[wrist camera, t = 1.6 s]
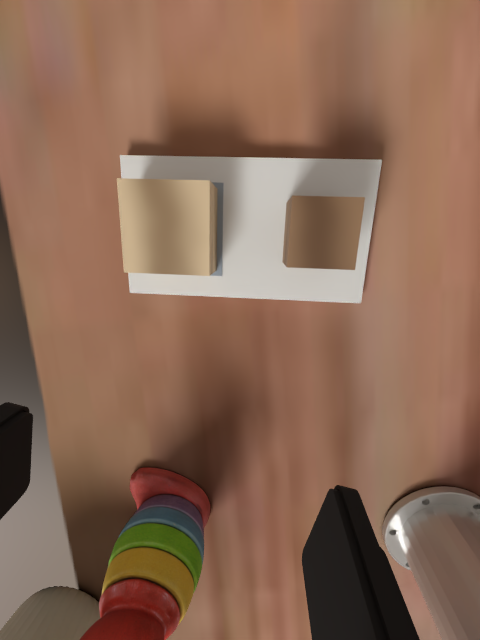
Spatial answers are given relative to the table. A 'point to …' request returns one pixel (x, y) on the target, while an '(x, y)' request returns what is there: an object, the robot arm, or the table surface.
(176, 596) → the stacking bear
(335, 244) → the walnut cube
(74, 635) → the canister
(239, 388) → the table surface
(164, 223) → the oak base block
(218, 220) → the board
